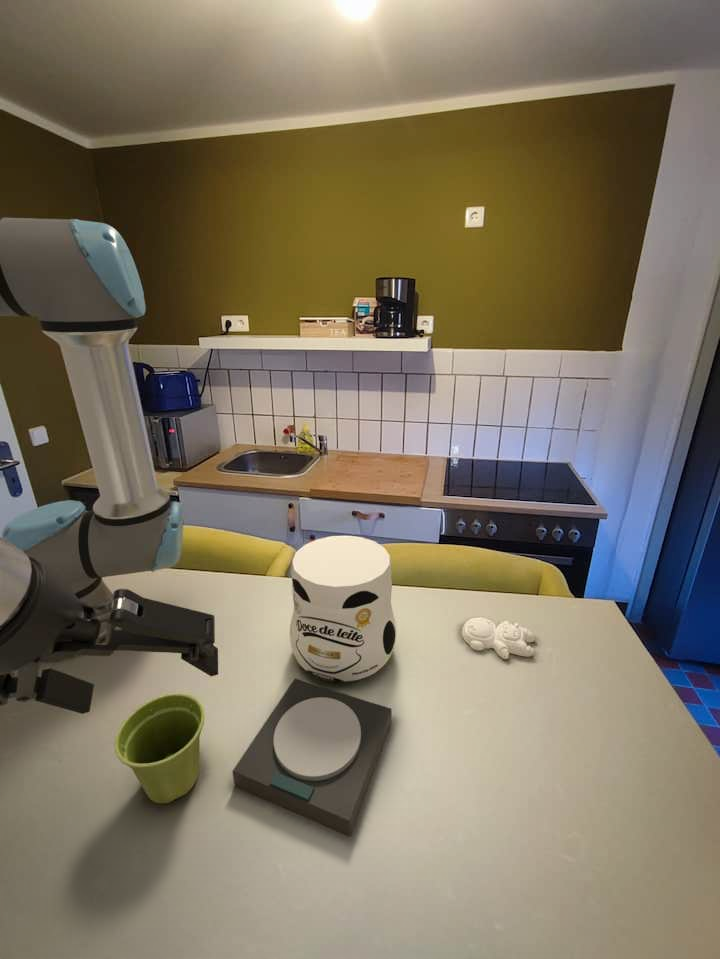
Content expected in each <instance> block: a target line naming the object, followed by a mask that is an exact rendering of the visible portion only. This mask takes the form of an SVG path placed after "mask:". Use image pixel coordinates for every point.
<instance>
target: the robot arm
mask: <svg viewBox="0 0 720 959" xmlns="http://www.w3.org/2000/svg"><path fill="white" fill-rule="evenodd" d="M145 313H146V300H145V294H144V289H143V285H142V281H141V278H140V275H139V271H138V269H137V266H136V263H135V261H134V258H133V255H132V253H131V251H130V248H129V247H128V246H127V243H126V241H125V240H124V238H123V237H122V235H121V234H120V233H119V231H117V229H115V228H114V227H113V226H111V225H109V224H107V223H104V222H99V221H89V220H81V219H78V218H70V219H65V218H36V217H35V218H30V217H1V216H0V317H29V318H31V317H35V318H38V320H39V324H40V327H41V331H42V333H43V334H44V335H46V336H48V337H49V338H50V339H52V340H53V341H54V342H56V343H57V344H58V345H59V347H60V350H61V354H62V355H61V356H62V358H63V361H64V362H63V363H64V365H65V369H66V374H67V377H68V381H69V385H70V389H71V391H72V396H73V400H74V403H75V406H76V410H77V414H78V418H79V421H80V425H81V429H82V433H83V436H84V437H83V438H84V439H85V444H86V447H87V452H88V455H89V459H90V462H91V466H92V470H93V473H94V477H95V482H96V484H97V488H98V493H99V497H98V498H97V499H96V501H95V502H94V503H93V505H92V510H86V509H87V508H86V506H85V504H84V503H83V502H81V501H80V500H73V499H70V500H61V501H56V502H51V503H48V504H44V505H42V506H41V505H40V506H38V507H35V508H33V509H30V510H28V511H26V512H23V513H22V514H19V515H18V516H16V517H14V518H13V519H12V520H10V521H9V522H8V523H6V525H5V526H4V527H3V529H2V532H1V537H0V707H1V706H5V705H7V704H8V701H9V699H14V698H15V701H16V702H20V703H25V702H29V701H32V700H34V701H35V702H37V703H42V704H45V705H49V706H51V707H52V706H53V707H56V708H60V709H64V710H68V711H70V712H74V713H78V714H81V715H84V714H86V713H90V711H91V707H92V706H91V705H92V698H93V692H94V687H95V684H94V683H92V682H90V681H87V680H84V679H82V678H79V677H76V676H73V675H71V674H67V673H65V672H62V671H59V670H57V669H54V668H52V667H48V668H46V669H42V671H41V674H40V676H39V672H40V668H41V665H42V663H43V664H44V663H45V664H46V663H53V664H55V663H59V662H62V661H65V660H67V659H73V658H75V657H79V656H93V657H109V656H112V655H113V654H114V653H115V652H117V651H123V652H145V653H165V654H166V653H168V654H169V653H170V654H180V659H181V660H183V661H184V662H186V663H188V664H189V665H191V666H192V667H194V668H196V669H198V670H199V671H201V672H203V673H205V674H206V675H208V676H210V677H214V676H218V675H219V648H218V647H216V646H215V645H214V644H215V642H216V633H215V632H216V628H215V625H216V623H215V621H216V620H215V615H214V614H211V613H206V612H203V611H199V610H194V609H191V608H186V607H182V606H178V605H174V604H171V603H166V602H162V601H158V600H155V599H151V598H147V597H144V596H141V595H140V594H138V593H136V592H134V591H133V590H130V589H127V588H119V589H115V590H114V592H112V591H111V590H110V588H109V587H108V585H107V584H106V583H105V582H104V580H103V578H109V577H115V576H116V577H117V576H122V575H130V574H137V573H145V572H152V573H154V572H156V571H159V570H165V569H171V568H173V567H175V566H177V564H178V563H179V561H180V559H181V556H182V550H183V543H184V542H183V541H184V508H183V504H182V503H181V502H179V501H175V500H173V501H172V502H171V496H170V492H169V490H167V489H166V488H164V487H162V486H160V485H159V484H158V480H157V476H156V470H155V466H154V462H153V456H152V452H151V446H150V442H149V441H150V440H149V436H148V432H147V427H146V421H145V417H144V412H143V406H142V402H141V397H140V392H139V387H138V382H137V377H136V373H135V368H134V364H133V363H134V362H133V358H132V354H131V347H130V343H129V341H130V340H131V338H132V337H133V336H134V334H135V333H136V332H137V330H138V326H137V321H136V319H139V318H141V317H143V316H144V315H145ZM103 640H105V641H104V643H100V642H102V641H103ZM15 671H17V676H16V675H15V673H14V672H15Z"/></svg>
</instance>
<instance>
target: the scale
mask: <svg viewBox="0 0 720 959" xmlns="http://www.w3.org/2000/svg"><path fill="white" fill-rule="evenodd" d="M392 711H393V710H392V708H390V707H388V706H384V705H380V704H377V703H374V702H371V701H369V700H365V699H362V698H359V697H355V696H353V695H349V694H347V693H343V692H340V691H337V690H334V689H330V688H328V687H324V686H321V685H319V684H315V683H313V682H312V683H311V682H309V681H305V680H302V679H299V678H295V677H294V679H293V681H292V682H291V683H290V684H289V687H288V688H287V690H286V691H285V692H284V694H283V696H282V697H281V698H280V700H279V701H278V703H277V704H276V706H275V708H274V709H273V710H272V712H271V713H270V715H269V717H268V718H267V719H266V721H265V722H264V723H263V725H262V726H261V728H260V730H259V731H258V732H257V734H256V735H255V737H254V738H253V740H252V741H251V743H250V744H249V746H248V747H247V749H246V750H245V751H244V753H243V755H242V756H241V758H240V759H239V761H238V762H237V764H236V765H235V767H233V769H232V770H231V771H232V778H233V785H234V786H235V787H237V788H239V789H241V790H244V791H246V792H248V793H251V794H253V795H255V796H257V797H259V798H262V799H264V800H265V801H269V802H271V803H274V804H276V805H278V806H280V807H282V808H285V809H287V810H289V811H291V812H293V813H296V814H298V815H300V816H303V817H304V818H305V817H306V818H307V819H309V820H312V821H314V822H317V823H319V824H321V825H323V826H325V827H328V828H330V829H333V830H335V831H337V832H339V833H342V834H344V835H346V836H349V837H351V835H352V832H353V829H354V826H355V824H356V821H357V818H358V815H359V813H360V810H361V807H362V805H363V802H364V800H365V796H366V794H367V790H368V787H369V786H370V782H371V779H372V777H373V775H374V771H375V768H376V766H377V763H378V760H379V757H380V755H381V752H382V749H383V746H384V745H385V744H384V743H385V741H386V739H387V735H388V732H389V731H390V727H391V725H392V719H393V718H392V714H393V712H392Z"/></svg>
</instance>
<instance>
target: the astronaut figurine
mask: <svg viewBox="0 0 720 959" xmlns="http://www.w3.org/2000/svg"><path fill="white" fill-rule="evenodd" d="M461 635H462V639H464V641H465V642H466V643H467V644H468V645H469V646H470V648H471V649H472V650H474V651H483V650H484V649H485V650H487V649H493V650H494V651H495V652H496V654H497V655H498V657H500V658H502V659H503V660H508V659H509V657H510V654H512V655H516V656H520V657H526V658H529V657H531V656H532V657H533V655H534V653H535V650H534V649H533V648H532V646H531V645H528V643H533V642H534V641H535V640H536V634H535V633H533V631H531V630H529V629H528V628H526V627H522V626H519V623H518V622H515V623H514V624H513V623H511V622H510V621H508V620H504V621H501V622H500V623H499V624H498V625H497V626H496V624H495V623H494V622H493V621H492V620H491V619H488V618H486V617H484V616H478V617H473V618H470V619H468V620H467V621H465V623H464V625H463V626H462V630H461Z"/></svg>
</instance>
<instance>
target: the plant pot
mask: <svg viewBox="0 0 720 959" xmlns="http://www.w3.org/2000/svg"><path fill="white" fill-rule="evenodd" d="M205 716H206V715H205V709H204V706H203V703H202V702H201V701H200V700H199V699H198V698H196V696H193V695H191V694H188V693H179V692H176V693H175V692H174V693H169V694H163V695H160V696H156V697H155V698H152V699H150V700H148V701H146V702H145V703H143V704H142V705H140V706H138V707H137V708H136V709H134V710H133V711H131V713H130V714H129V715H128V716H127V717H126V718H125V720H124V721H123V722H122V723H121V726H120V727H119V729H118V731H117V733H116V735H115V739H114V752H115V755H116V757H117V759H118V760H119V761H120V762H121V763H122V764H123V765H125V766H127V767H129V768H130V769H131V770H132V771H133V773H134V774H135V776H136V778H137V780H138V781H139V783H140V786H141V787H142V789H143V790H144V791H143V792H145V794H146V796H147V797H148V799H149V800H150V801H152V802H153V803H156V804H169V803H171V802H173V801H175V800H176V799H178V798H181V797H182V796H185V795H186V794H187V793H189V791H191V789H192V788H193V787H194V785H195V784H196V782H197V780H198V778H199V774H200V769H201V762H200V760H201V759H200V754H201V753H200V752H201V751H200V749H201V748H200V746H201V744H200V743H201V742H200V740H201V739H200V738H201V737H200V736H201V733H202V730H203V727H204V724H205Z"/></svg>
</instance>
